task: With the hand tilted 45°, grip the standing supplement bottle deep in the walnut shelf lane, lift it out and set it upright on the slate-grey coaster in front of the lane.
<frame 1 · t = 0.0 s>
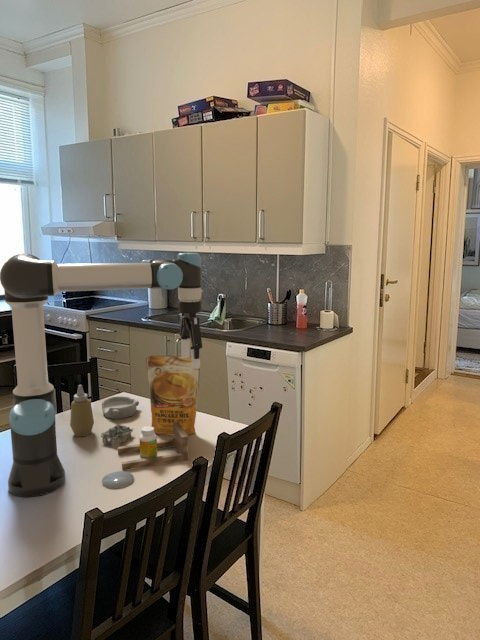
hand: (190, 362, 165), 28 cm above the table, tool pointing down, fingers open, 13 cm apart
supplement bottle: (148, 457, 158), resting in lane rack
dish: (120, 413, 196), on the table
coaster: (118, 480, 144), on the table
pancake mix bag: (173, 432, 178), on the table
squeeze bottle: (82, 434, 176), on the table
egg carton: (117, 440, 171), on the table
lane rack: (152, 456, 159), on the table
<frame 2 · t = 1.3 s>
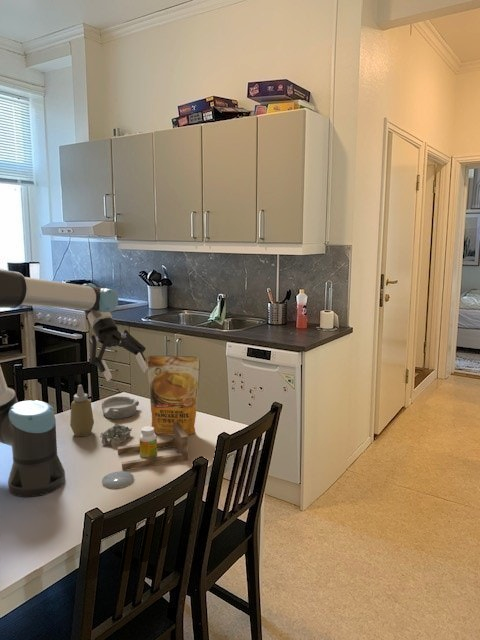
hand: (128, 374, 161), 25 cm above the table, tool tilted 45°, fingers open, 13 cm apart
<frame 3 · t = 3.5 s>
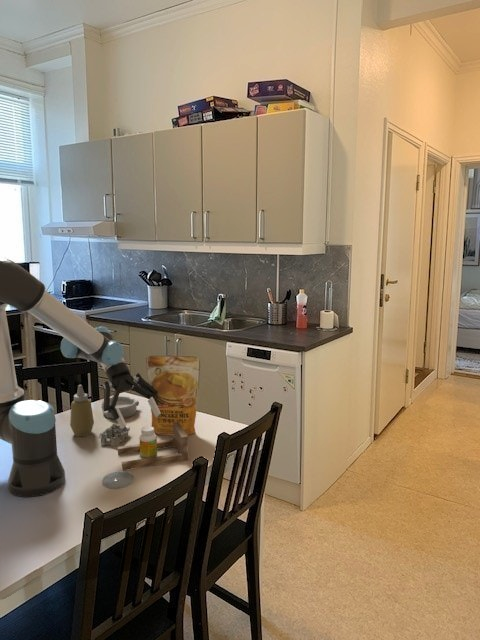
hand: (141, 421, 162), 10 cm above the table, tool tilted 45°, fingers open, 13 cm apart
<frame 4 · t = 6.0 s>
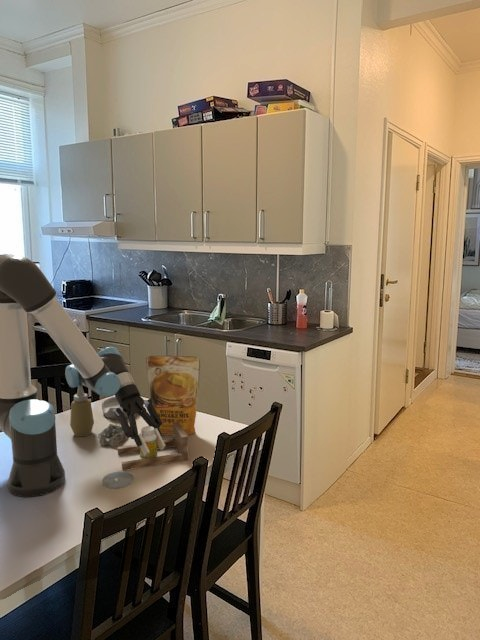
hand: (155, 450, 155), 3 cm above the table, tool tilted 45°, fingers closed on supplement bottle, 5 cm apart
supplement bottle: (148, 457, 158), resting in lane rack, touching gripper
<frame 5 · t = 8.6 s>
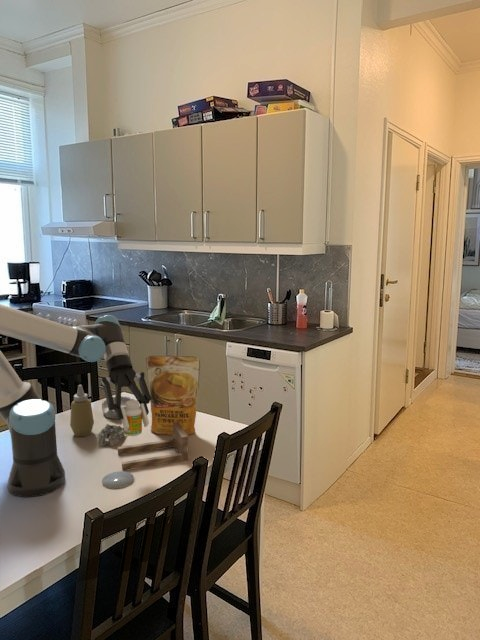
hand: (137, 426, 144), 15 cm above the table, tool tilted 45°, fingers closed on supplement bottle, 5 cm apart
supplement bottle: (132, 433, 148), point 12 cm above the table, touching gripper
when the fingers open (5 cm above the table, at t = 11.4 s): supplement bottle drops 1 cm, resting on coaster.
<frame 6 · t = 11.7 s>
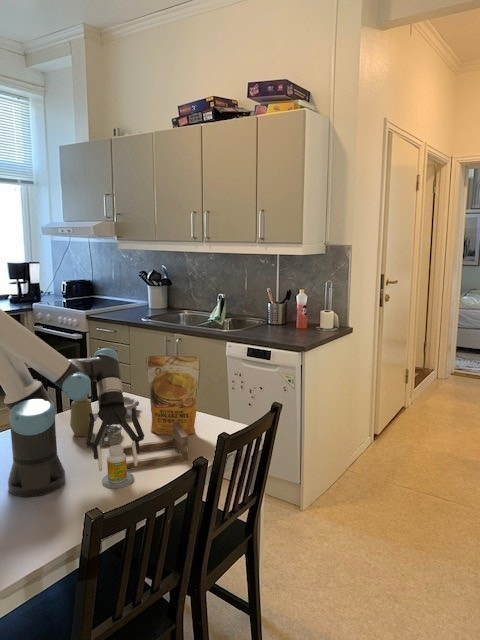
hand: (118, 466, 140), 6 cm above the table, tool tilted 45°, fingers open, 9 cm apart
supplement bottle: (117, 479, 143), resting on coaster
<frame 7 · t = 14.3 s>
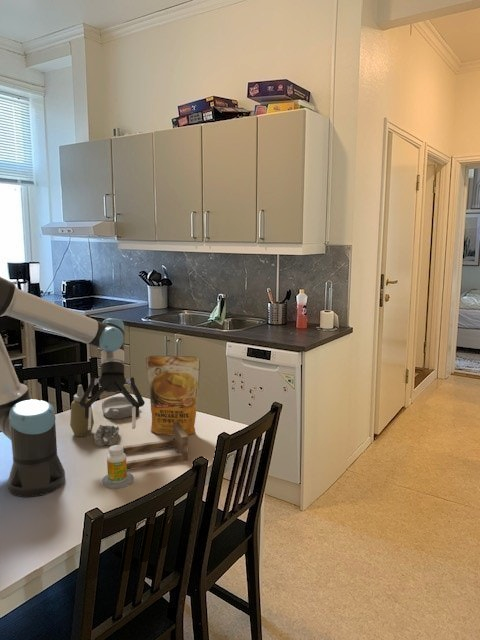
hand: (112, 428, 154), 11 cm above the table, tool tilted 35°, fingers open, 13 cm apart
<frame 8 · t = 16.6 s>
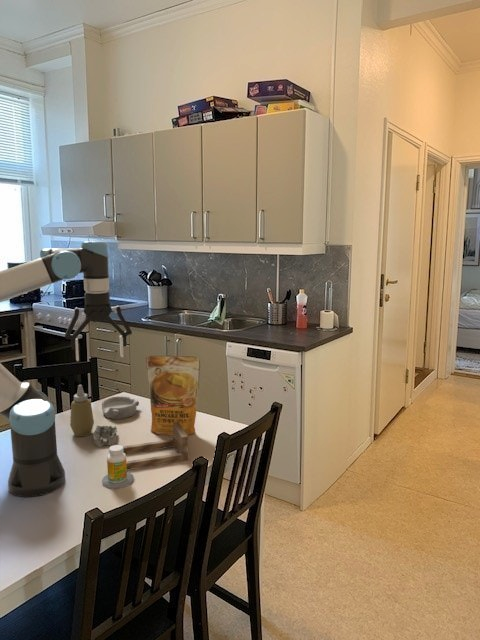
hand: (100, 358, 156), 32 cm above the table, tool pointing down, fingers open, 13 cm apart
at the end: supplement bottle 0.1 cm from the coaster (horizontally); supplement bottle tilted 0°; the gripper is holding nothing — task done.
